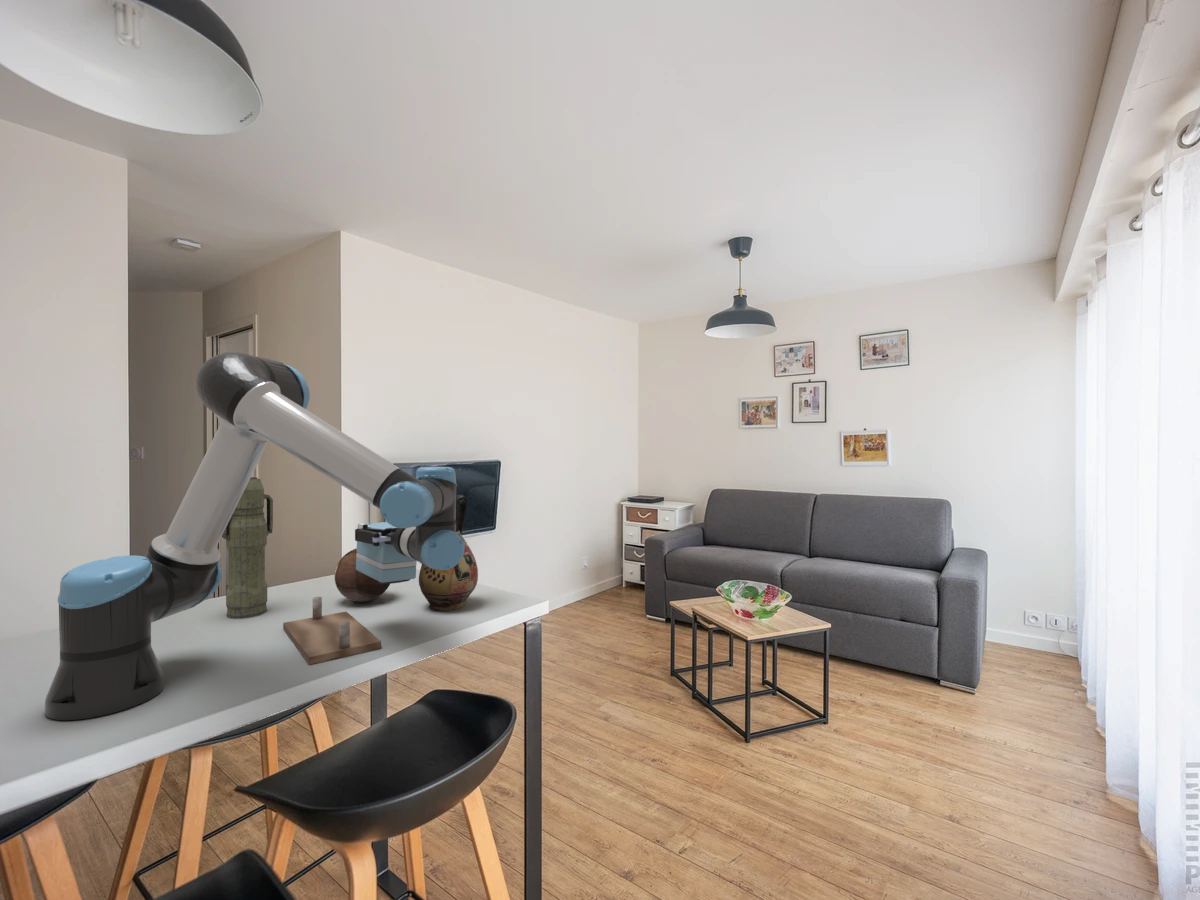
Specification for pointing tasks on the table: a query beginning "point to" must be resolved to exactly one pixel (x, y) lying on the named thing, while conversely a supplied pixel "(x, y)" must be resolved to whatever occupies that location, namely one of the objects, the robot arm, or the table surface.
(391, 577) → the radio
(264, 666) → the table surface
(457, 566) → the ceramic jug
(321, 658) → the pin tray
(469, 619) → the table surface
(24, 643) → the table surface
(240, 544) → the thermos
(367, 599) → the wooden sphere
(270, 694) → the table surface
